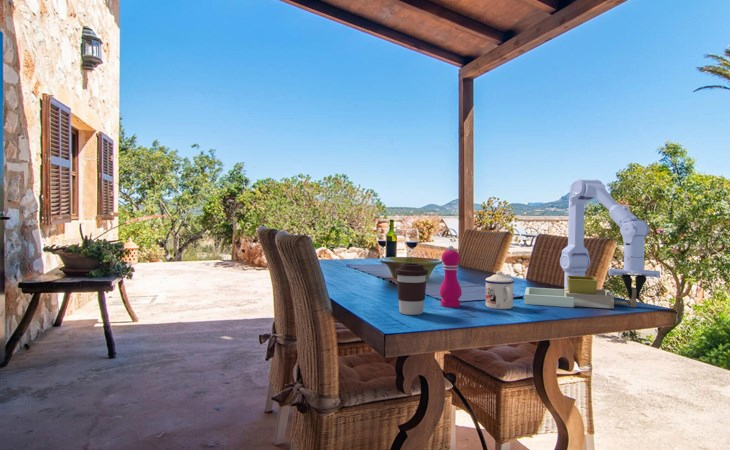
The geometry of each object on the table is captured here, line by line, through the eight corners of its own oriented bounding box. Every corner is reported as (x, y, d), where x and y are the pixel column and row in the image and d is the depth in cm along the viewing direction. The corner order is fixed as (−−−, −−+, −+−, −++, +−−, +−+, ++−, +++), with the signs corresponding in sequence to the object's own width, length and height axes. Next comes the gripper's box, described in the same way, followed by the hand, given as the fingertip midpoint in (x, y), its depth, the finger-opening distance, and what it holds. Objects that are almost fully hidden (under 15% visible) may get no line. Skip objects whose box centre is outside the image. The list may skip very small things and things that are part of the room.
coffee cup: (401, 317, 133) (401, 266, 133) (390, 310, 143) (391, 262, 142) (432, 315, 136) (433, 265, 136) (420, 308, 145) (420, 262, 145)
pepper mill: (460, 303, 154) (460, 245, 154) (462, 308, 147) (463, 246, 147) (438, 303, 155) (439, 244, 154) (440, 307, 148) (440, 246, 147)
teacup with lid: (480, 304, 153) (480, 270, 153) (504, 303, 155) (505, 269, 154) (497, 312, 141) (497, 274, 141) (523, 310, 143) (524, 273, 143)
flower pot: (597, 307, 149) (597, 280, 149) (568, 305, 152) (568, 278, 152) (593, 302, 157) (594, 276, 157) (566, 300, 160) (566, 275, 160)
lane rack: (526, 295, 170) (526, 287, 170) (570, 298, 165) (570, 289, 165) (524, 304, 154) (524, 294, 154) (573, 307, 149) (573, 297, 148)
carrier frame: (564, 298, 164) (564, 281, 164) (631, 302, 156) (631, 285, 156) (566, 305, 151) (566, 287, 151) (639, 310, 143) (639, 291, 143)
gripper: (610, 257, 149) (610, 298, 149) (662, 258, 143) (662, 301, 143) (608, 255, 155) (607, 295, 155) (657, 256, 150) (656, 297, 150)
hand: (633, 298), depth 150 cm, fingers closed
